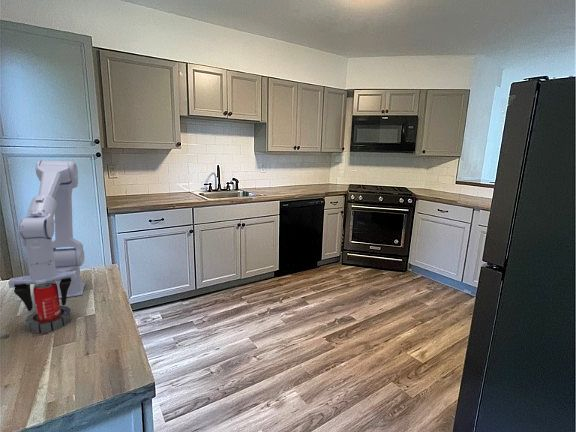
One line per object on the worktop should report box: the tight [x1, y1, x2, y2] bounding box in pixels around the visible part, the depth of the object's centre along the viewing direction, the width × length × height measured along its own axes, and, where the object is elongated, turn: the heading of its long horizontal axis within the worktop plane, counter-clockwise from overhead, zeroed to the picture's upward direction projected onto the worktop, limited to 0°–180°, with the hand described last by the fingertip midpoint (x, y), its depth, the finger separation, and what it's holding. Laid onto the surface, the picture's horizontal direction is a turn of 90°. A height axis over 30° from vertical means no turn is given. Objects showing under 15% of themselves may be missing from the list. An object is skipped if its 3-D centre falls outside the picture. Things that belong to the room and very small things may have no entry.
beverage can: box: [32, 281, 61, 322], centre depth 88 cm, size 5×5×12 cm
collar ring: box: [25, 305, 72, 334], centre depth 89 cm, size 10×10×2 cm
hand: (47, 306), depth 88 cm, fingers open, 7 cm apart
